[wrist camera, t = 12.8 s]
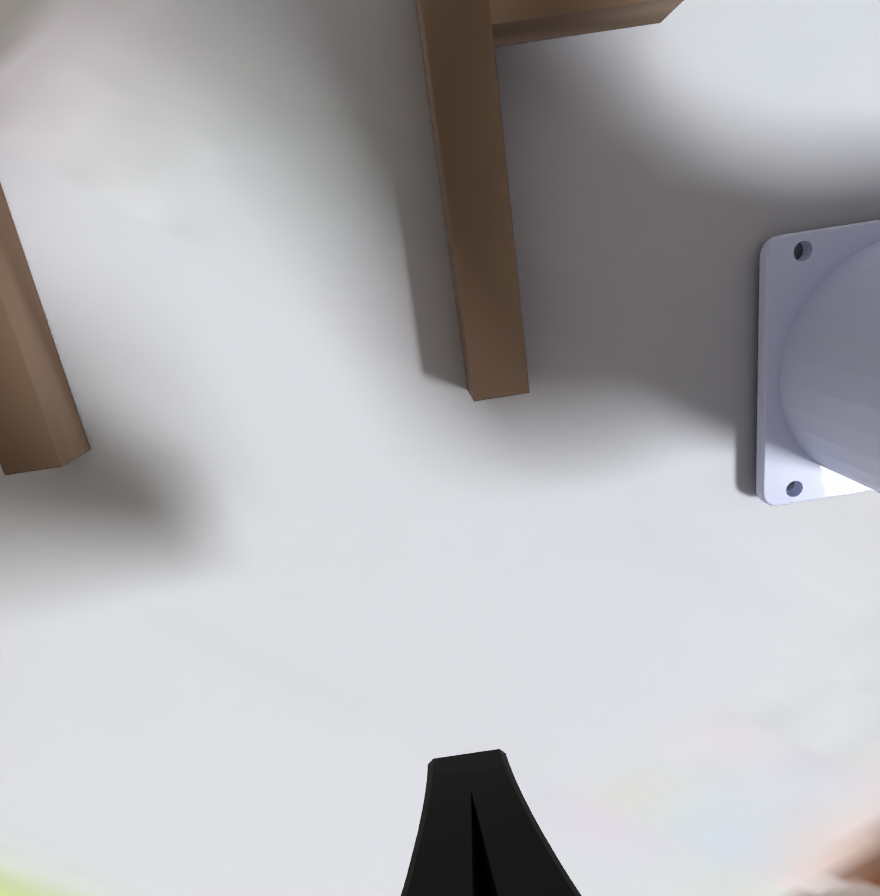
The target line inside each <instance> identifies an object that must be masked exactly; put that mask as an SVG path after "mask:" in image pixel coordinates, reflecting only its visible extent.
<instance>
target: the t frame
mask: <svg viewBox="0 0 880 896" xmlns="http://www.w3.org/2000/svg"><path fill="white" fill-rule="evenodd" d="M682 1H684V0H416V6H417V14H418V21H419V29H420V36H421V44H422V51H423V59H424V66H425V73H426V81H427V88H428V96H429V103H430V111H431V118H432V126H433V133H434V141H435V148H436V156H437V163H438V171H439V178H440V186H441V193H442V200H443V208H444V215H445V223H446V230H447V238H448V245H449V253H450V260H451V268H452V275H453V283H454V290H455V298H456V305H457V312H458V320H459V327H460V335H461V342H462V350H463V357H464V365H465V372H466V380H467V387H468V391H469V393H470V395H471V397H472V399H473V400H474V401H480V400H486V399H493V398H499V397H505V396H512V395H518V394H524V393H529V383H528V374H527V364H526V354H525V344H524V335H523V325H522V315H521V305H520V295H519V286H518V276H517V266H516V256H515V247H514V237H513V227H512V217H511V207H510V198H509V188H508V178H507V168H506V159H505V149H504V139H503V129H502V119H501V110H500V100H499V90H498V80H497V71H496V61H495V51H494V47H498V46H505V45H511V44H518V43H525V42H532V41H539V40H546V39H552V38H559V37H566V36H573V35H580V34H587V33H593V32H600V31H607V30H614V29H621V28H628V27H634V26H641V25H648V24H655V23H660V22H661V21H663V20H664V19H665V18H666V17H667V16H668V15H669V14H670V13H671V12H672V11H673V10H674V9H675V8H676V7H677V6H678V5H679V4H680V3H681V2H682ZM89 450H91V449H90V446H89V443H88V440H87V437H86V434H85V431H84V428H83V425H82V423H81V420H80V417H79V414H78V411H77V408H76V405H75V402H74V399H73V396H72V393H71V390H70V387H69V384H68V381H67V378H66V375H65V372H64V369H63V367H62V364H61V361H60V358H59V355H58V352H57V349H56V346H55V343H54V340H53V337H52V334H51V331H50V328H49V325H48V322H47V319H46V316H45V313H44V310H43V308H42V305H41V302H40V299H39V296H38V293H37V290H36V287H35V284H34V281H33V278H32V275H31V272H30V269H29V266H28V263H27V260H26V257H25V254H24V252H23V249H22V246H21V243H20V240H19V237H18V234H17V231H16V228H15V225H14V222H13V219H12V216H11V213H10V210H9V207H8V204H7V201H6V198H5V195H4V193H3V190H2V187H1V184H0V464H1V466H2V469H3V471H4V474H5V475H10V474H16V473H23V472H29V471H35V470H42V469H48V468H54V467H61V466H63V465H65V464H67V463H69V462H70V461H72V460H74V459H75V458H77V457H79V456H81V455H82V454H84V453H86V452H88V451H89Z"/></svg>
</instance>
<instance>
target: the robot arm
mask: <svg viewBox="0 0 880 896" xmlns="http://www.w3.org/2000/svg"><path fill="white" fill-rule="evenodd" d="M798 243H800V244H801V245H802V247H803V253H802V256H801V257H800V258H799V259H798V260H797V259H796V258H795V257H794V253H793V252H794V249H795V246H796V245H797V244H798ZM793 481H794V482H795V484H794V487H793V488H792V489H791V490H790V491H788V492H786V488H787V486H788V485H789V484H790V483H791V482H793ZM871 490H875V491H877V492H879V493H880V220H873V221H867V222H860V223H854V224H847V225H841V226H834V227H828V228H821V229H815V230H808V231H802V232H795V233H789V234H782V235H777V236H774V237H771V238H770V239H769V240H768V241H767V242H765V244H764V245H763V247H762V249H761V253H760V270H759V334H758V397H757V461H756V492H757V496H758V497H759V498H760V500H762V501H763V502H765V503H767V504H769V505H771V506H779V505H785V504H791V503H797V502H804V501H810V500H816V499H822V498H828V497H834V496H841V495H847V494H853V493H859V492H865V491H871ZM401 896H581V894H580V893H579V891H578V890H577V888H576V887H575V885H574V884H573V882H572V881H571V879H570V878H569V876H568V874H567V873H566V871H565V870H564V868H563V866H562V865H561V863H560V862H559V860H558V858H557V856H556V855H555V853H554V851H553V850H552V848H551V846H550V845H549V843H548V841H547V839H546V838H545V836H544V834H543V833H542V831H541V829H540V827H539V826H538V824H537V822H536V820H535V818H534V816H533V815H532V813H531V811H530V809H529V807H528V805H527V803H526V801H525V799H524V797H523V795H522V793H521V791H520V789H519V786H518V784H517V782H516V780H515V777H514V775H513V773H512V770H511V768H510V765H509V762H508V759H507V756H506V753H504V752H503V751H501V750H500V749H497V750H490V751H483V752H476V753H469V754H462V755H456V756H449V757H442V758H435V759H433V760H432V761H431V762H430V763H429V764H428V774H427V784H426V792H425V798H424V804H423V810H422V815H421V819H420V824H419V829H418V834H417V838H416V842H415V846H414V850H413V853H412V857H411V861H410V865H409V869H408V873H407V877H406V880H405V884H404V887H403V891H402V894H401Z"/></svg>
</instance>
